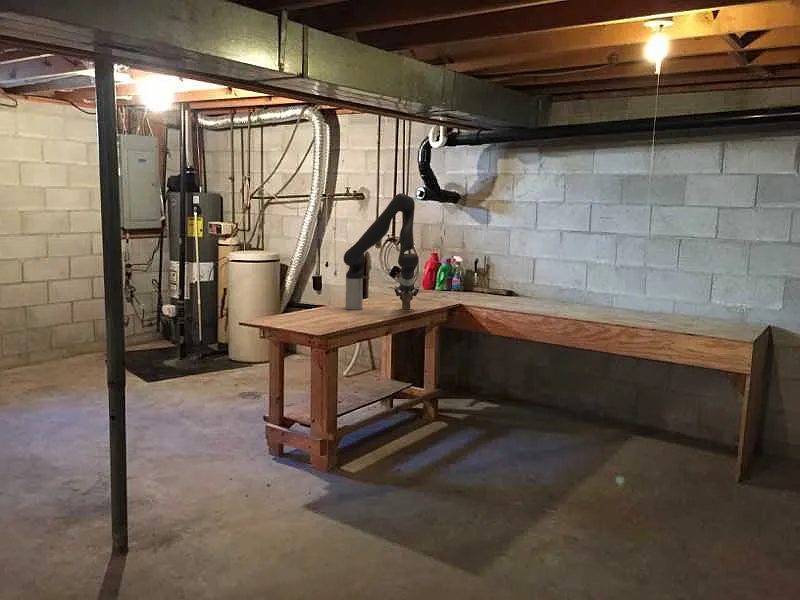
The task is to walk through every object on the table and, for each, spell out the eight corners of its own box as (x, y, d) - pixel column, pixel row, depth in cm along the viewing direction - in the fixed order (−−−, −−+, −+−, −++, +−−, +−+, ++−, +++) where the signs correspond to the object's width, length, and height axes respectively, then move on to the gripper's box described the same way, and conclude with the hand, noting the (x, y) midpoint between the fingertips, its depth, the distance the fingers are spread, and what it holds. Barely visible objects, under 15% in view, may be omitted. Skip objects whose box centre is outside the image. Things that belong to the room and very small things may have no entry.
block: (402, 308, 370) (402, 288, 369) (402, 307, 375) (402, 287, 373) (410, 308, 370) (410, 288, 369) (410, 307, 375) (410, 287, 373)
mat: (399, 310, 368) (399, 310, 368) (398, 308, 376) (398, 308, 376) (413, 310, 369) (413, 310, 369) (412, 308, 377) (412, 308, 377)
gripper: (420, 274, 362) (418, 294, 376) (393, 274, 362) (393, 293, 376) (420, 285, 358) (419, 304, 372) (393, 285, 358) (393, 304, 371)
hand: (406, 299), depth 374 cm, fingers closed on block, 4 cm apart
